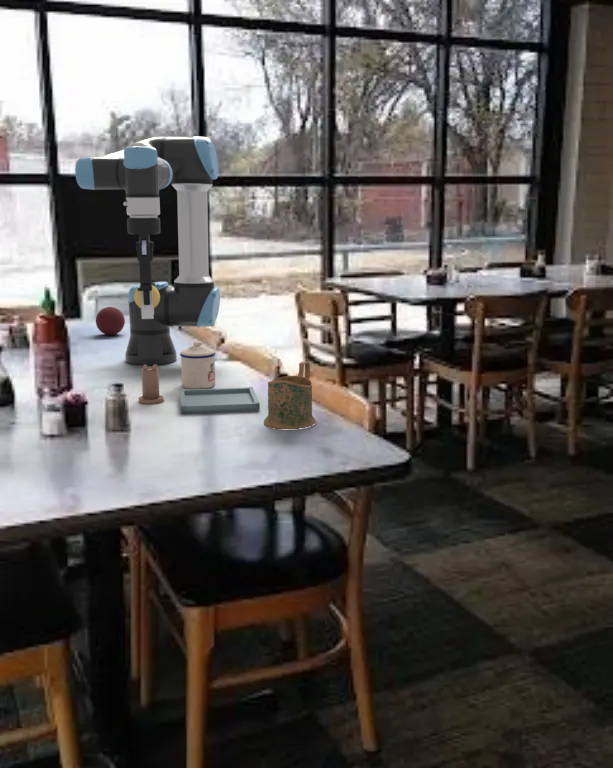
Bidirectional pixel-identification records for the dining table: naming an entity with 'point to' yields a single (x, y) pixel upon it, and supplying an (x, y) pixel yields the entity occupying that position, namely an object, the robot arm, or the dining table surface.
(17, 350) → the dining table surface
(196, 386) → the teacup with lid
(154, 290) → the ball
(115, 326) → the decorative ball
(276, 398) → the brown green vessel
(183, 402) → the tray
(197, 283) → the robot arm
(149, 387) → the stand cup
